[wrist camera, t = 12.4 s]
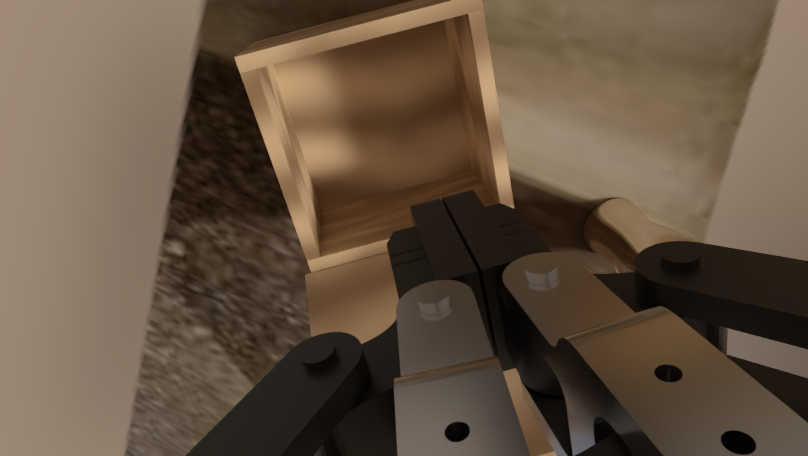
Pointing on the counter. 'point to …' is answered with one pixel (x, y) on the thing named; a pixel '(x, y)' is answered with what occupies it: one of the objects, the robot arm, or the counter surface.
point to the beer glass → (624, 233)
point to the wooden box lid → (387, 321)
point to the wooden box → (377, 121)
